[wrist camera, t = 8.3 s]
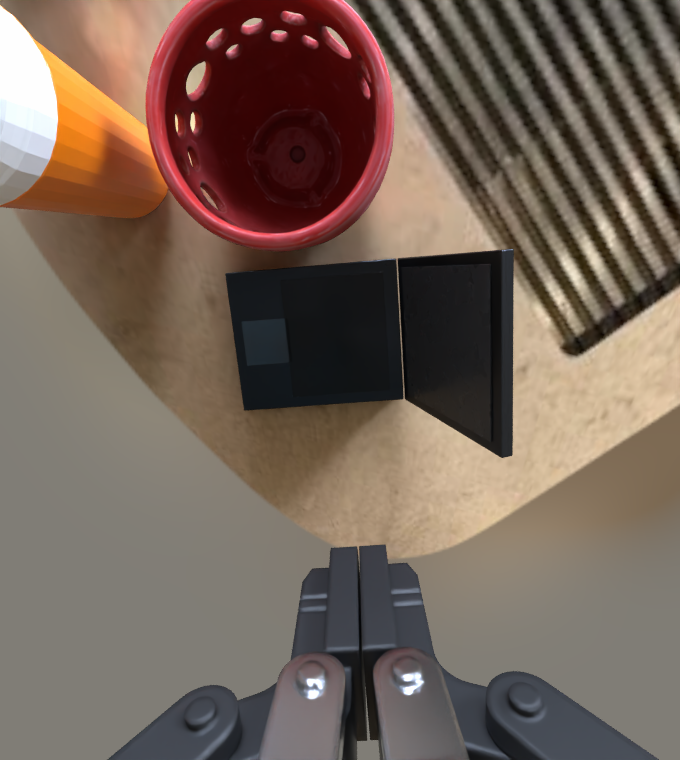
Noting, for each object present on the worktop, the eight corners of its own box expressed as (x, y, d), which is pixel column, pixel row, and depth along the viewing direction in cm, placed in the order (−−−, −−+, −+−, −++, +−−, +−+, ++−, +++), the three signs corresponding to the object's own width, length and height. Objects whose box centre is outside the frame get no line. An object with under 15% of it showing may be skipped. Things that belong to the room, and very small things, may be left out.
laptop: (248, 404, 40) (243, 411, 38) (230, 272, 38) (224, 273, 36) (401, 393, 40) (403, 399, 38) (394, 258, 37) (396, 258, 35)
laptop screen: (500, 458, 26) (512, 456, 26) (499, 250, 23) (514, 248, 23) (403, 399, 38) (412, 397, 38) (396, 258, 35) (406, 257, 35)
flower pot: (313, 23, 33) (291, -105, 22) (416, 185, 36) (447, 148, 24) (173, 142, 35) (85, 84, 24) (279, 287, 38) (247, 299, 26)
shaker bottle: (206, 188, 36) (35, 102, 17) (117, 253, 37) (-137, 245, 18) (134, 78, 34) (-151, -159, 15) (43, 151, 36) (-325, 21, 16)
